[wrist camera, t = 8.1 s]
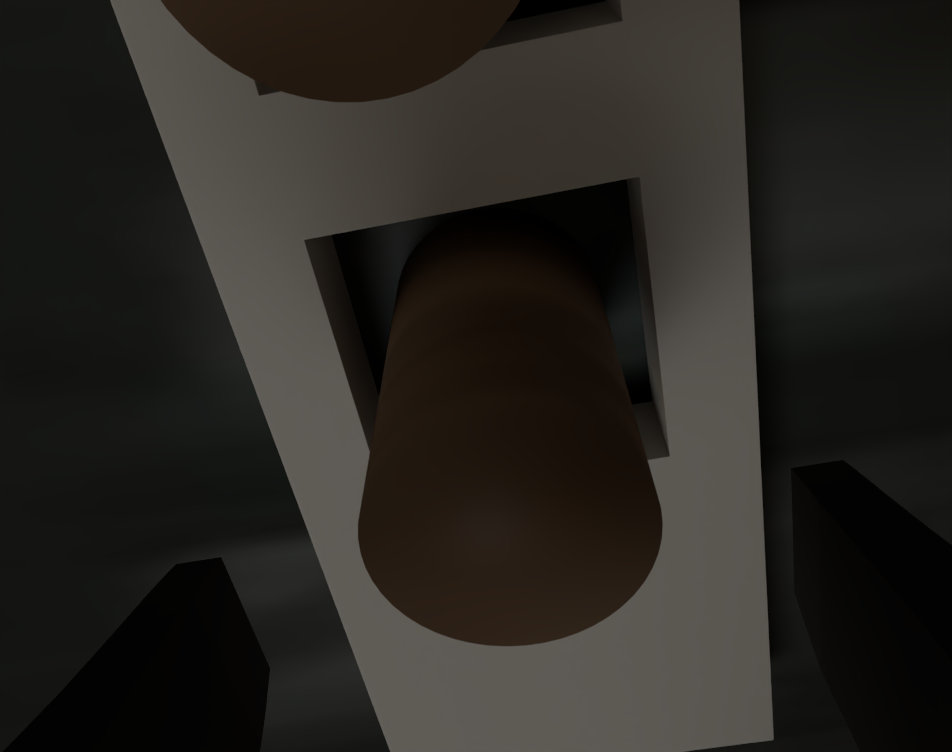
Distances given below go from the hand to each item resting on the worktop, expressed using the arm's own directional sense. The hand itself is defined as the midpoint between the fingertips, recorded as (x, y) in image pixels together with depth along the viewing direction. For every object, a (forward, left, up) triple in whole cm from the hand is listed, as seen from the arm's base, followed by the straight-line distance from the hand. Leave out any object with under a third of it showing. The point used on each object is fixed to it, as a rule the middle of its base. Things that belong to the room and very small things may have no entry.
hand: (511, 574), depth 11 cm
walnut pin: (0, 0, -8) cm, 8 cm away
